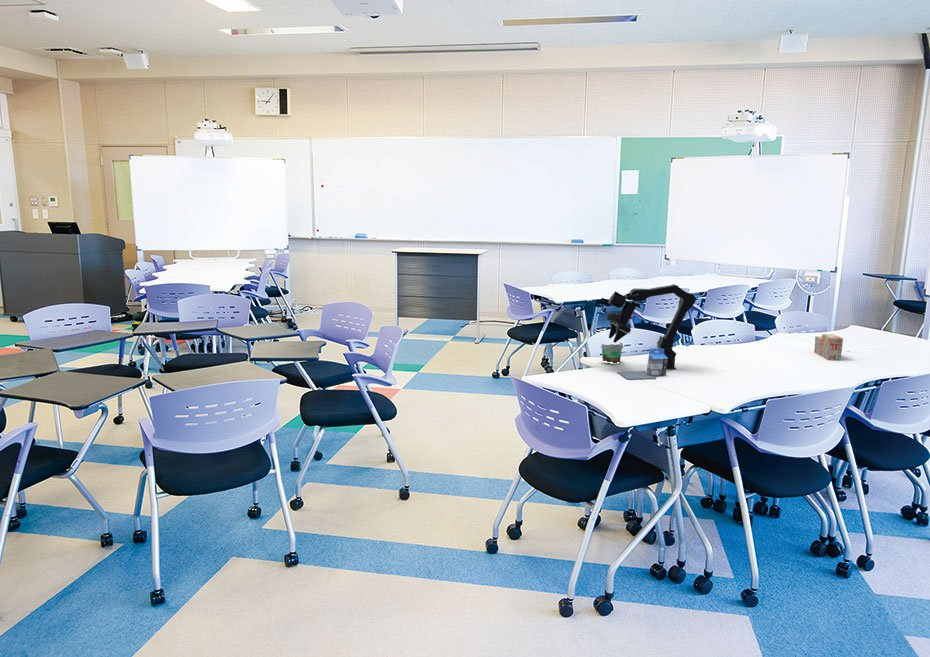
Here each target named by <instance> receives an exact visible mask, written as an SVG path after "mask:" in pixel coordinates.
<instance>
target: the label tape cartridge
mask: <svg viewBox="0 0 930 657" xmlns="http://www.w3.org/2000/svg"><path fill="white" fill-rule="evenodd" d="M667 365H668V358H667V357H666V356H665V355H664V349H658V348H649V351H648V358H647V367H646V372H647V373H646V374H648V375H651V376H654V377H657V376H667V372H668V369H667Z"/></svg>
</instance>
